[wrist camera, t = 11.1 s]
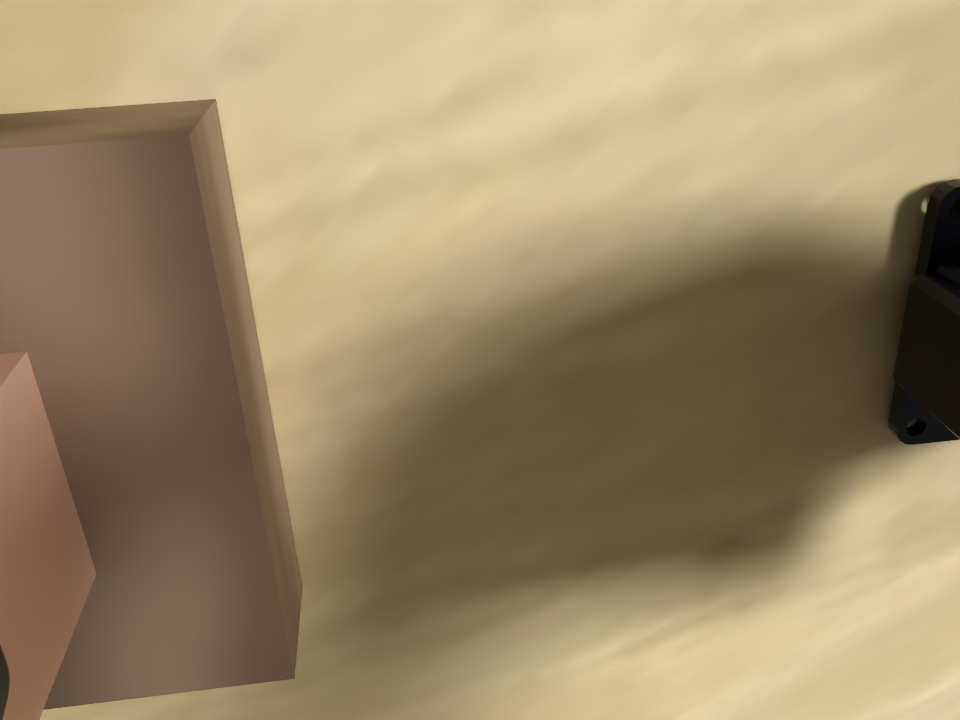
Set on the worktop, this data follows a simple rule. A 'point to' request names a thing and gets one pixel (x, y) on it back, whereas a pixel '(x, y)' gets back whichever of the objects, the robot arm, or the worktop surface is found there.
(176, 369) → the walnut base
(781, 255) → the worktop surface
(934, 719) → the worktop surface
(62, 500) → the terracotta block
